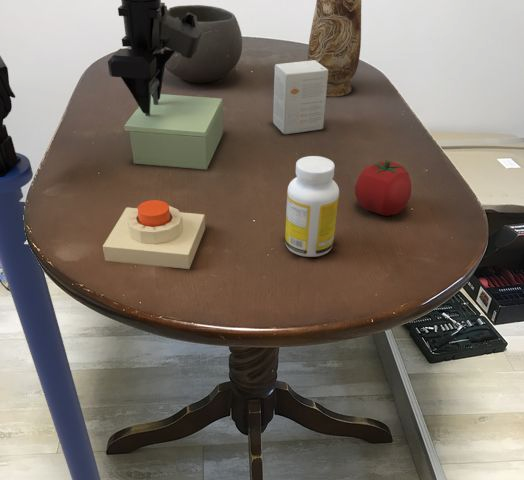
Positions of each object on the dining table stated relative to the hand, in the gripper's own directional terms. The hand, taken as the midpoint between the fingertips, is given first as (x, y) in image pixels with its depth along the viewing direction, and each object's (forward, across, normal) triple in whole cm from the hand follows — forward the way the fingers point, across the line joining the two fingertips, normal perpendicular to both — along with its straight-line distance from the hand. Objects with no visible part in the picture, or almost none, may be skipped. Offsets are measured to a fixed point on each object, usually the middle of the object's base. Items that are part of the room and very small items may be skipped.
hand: (151, 106), depth 97 cm
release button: (+3, -30, -8) cm, 31 cm away
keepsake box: (+7, 0, -4) cm, 8 cm away
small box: (+7, +13, -23) cm, 28 cm away
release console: (+7, -30, -8) cm, 32 cm away
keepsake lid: (+1, 0, -4) cm, 4 cm away
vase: (+7, +34, -28) cm, 45 cm away
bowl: (+7, +35, 0) cm, 36 cm away
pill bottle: (+7, -27, -28) cm, 40 cm away
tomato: (+7, -15, -38) cm, 42 cm away
